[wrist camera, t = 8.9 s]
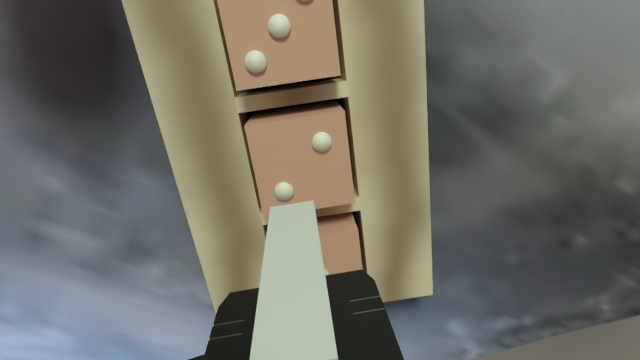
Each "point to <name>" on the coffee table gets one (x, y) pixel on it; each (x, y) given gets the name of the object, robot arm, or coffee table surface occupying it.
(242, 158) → the board
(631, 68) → the coffee table surface
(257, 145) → the tile two pips
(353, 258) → the tile one pip
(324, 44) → the tile three pips
